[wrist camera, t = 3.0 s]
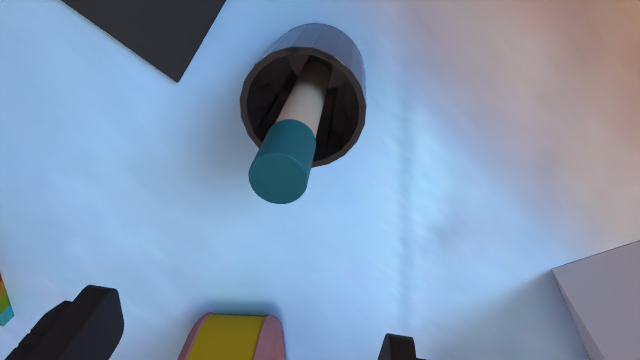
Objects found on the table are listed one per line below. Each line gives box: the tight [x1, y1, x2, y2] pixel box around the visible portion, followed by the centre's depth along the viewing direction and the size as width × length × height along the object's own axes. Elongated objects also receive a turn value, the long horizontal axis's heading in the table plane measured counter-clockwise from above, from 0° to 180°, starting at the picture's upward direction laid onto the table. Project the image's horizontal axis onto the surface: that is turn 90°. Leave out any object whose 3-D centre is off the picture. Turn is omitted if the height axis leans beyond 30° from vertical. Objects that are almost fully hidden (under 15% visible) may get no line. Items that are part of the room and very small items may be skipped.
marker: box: [249, 61, 330, 204], centre depth 28 cm, size 3×3×19 cm
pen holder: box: [240, 23, 366, 168], centre depth 32 cm, size 9×9×10 cm
